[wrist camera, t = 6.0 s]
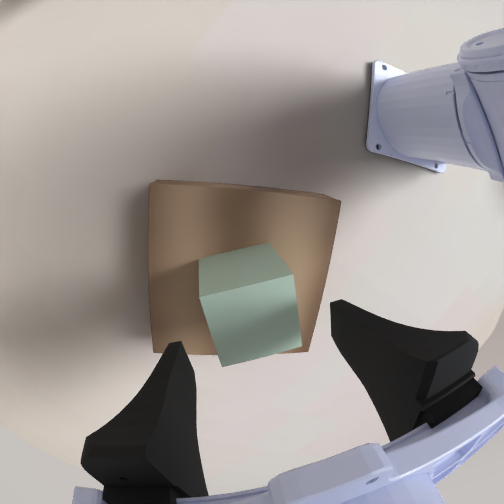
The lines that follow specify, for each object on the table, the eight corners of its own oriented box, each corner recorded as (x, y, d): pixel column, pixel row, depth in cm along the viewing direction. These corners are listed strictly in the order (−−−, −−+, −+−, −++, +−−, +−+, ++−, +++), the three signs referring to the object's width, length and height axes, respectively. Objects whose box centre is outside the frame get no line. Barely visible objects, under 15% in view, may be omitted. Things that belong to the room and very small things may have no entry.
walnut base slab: (323, 194, 21) (341, 201, 18) (296, 331, 25) (308, 351, 22) (157, 179, 18) (149, 184, 16) (157, 330, 22) (153, 352, 19)
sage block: (269, 242, 18) (293, 274, 13) (279, 302, 20) (301, 346, 15) (198, 258, 18) (199, 297, 13) (215, 318, 19) (222, 366, 15)
